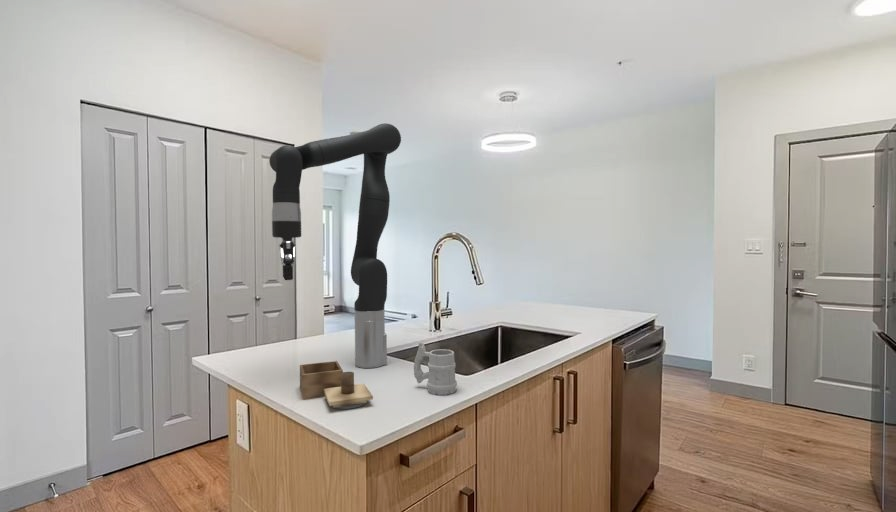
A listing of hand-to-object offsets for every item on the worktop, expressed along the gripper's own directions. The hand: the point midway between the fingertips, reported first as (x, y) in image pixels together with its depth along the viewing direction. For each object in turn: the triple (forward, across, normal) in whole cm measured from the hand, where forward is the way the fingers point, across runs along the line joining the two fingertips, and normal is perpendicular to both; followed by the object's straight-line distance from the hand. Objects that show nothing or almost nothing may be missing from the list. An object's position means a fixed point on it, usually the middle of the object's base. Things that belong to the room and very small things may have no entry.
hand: (287, 278), depth 119 cm
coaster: (+28, -24, -12) cm, 39 cm away
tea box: (+28, -13, -7) cm, 32 cm away
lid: (+26, -24, -12) cm, 38 cm away
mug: (+28, -24, -34) cm, 50 cm away
